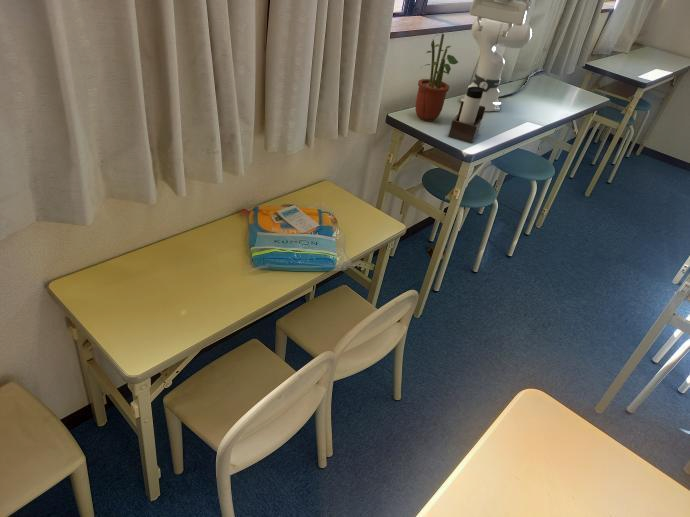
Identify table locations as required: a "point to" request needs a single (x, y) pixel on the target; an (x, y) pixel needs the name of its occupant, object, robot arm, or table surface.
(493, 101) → the robot arm
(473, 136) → the brown hinged box
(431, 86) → the potted plant
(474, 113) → the travel mug
